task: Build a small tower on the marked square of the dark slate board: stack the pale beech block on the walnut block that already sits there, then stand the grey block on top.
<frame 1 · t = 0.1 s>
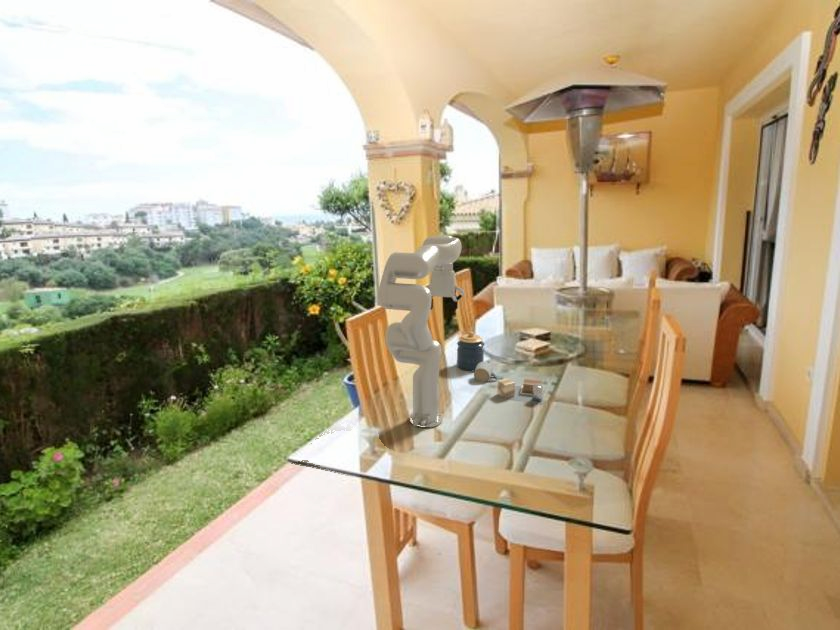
hand: (442, 309, 194), 37 cm above the table, tool pointing down, fingers open, 9 cm apart
walnut block: (531, 390, 205), point 1 cm above the table, touching slate board
grey block: (537, 400, 196), point 1 cm above the table, touching slate board
ceramic mug: (485, 380, 218), on the table
slate board: (521, 394, 203), on the table
beech block: (505, 395, 200), point 1 cm above the table, touching slate board
canister: (470, 367, 235), on the table
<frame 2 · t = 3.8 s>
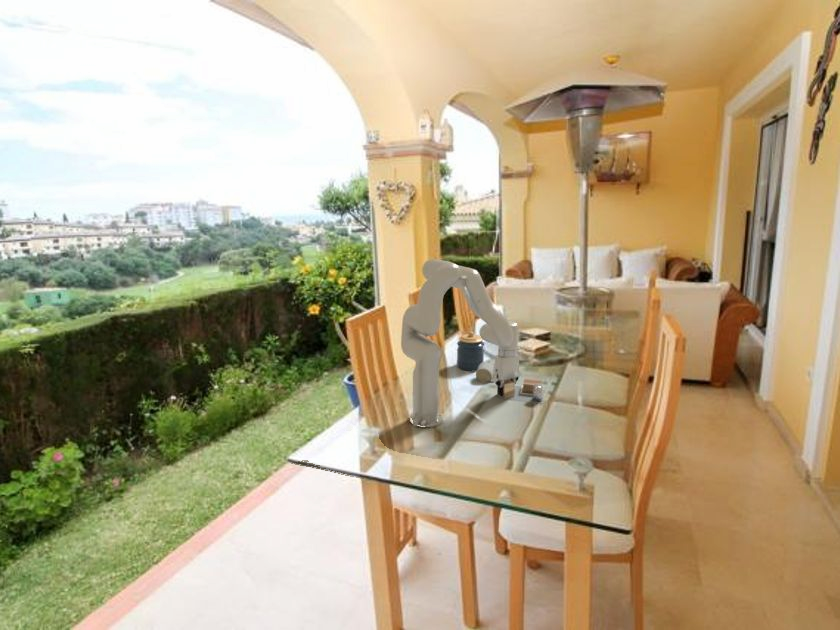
hand: (505, 393, 200), 2 cm above the table, tool pointing down, fingers closed on beech block, 5 cm apart
beech block: (505, 395, 200), point 1 cm above the table, touching gripper, slate board
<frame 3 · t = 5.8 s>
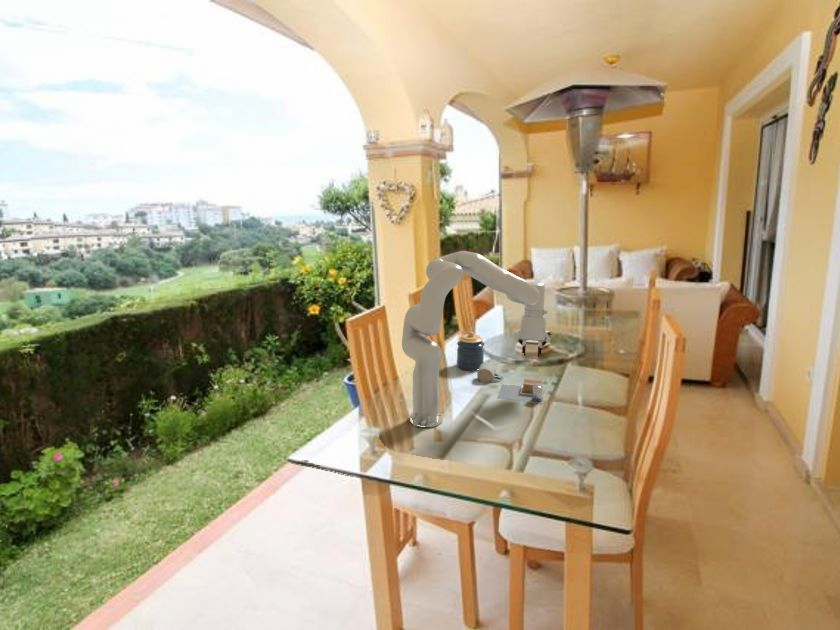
hand: (531, 354, 200), 17 cm above the table, tool pointing down, fingers closed on beech block, 5 cm apart
beech block: (531, 356, 201), point 16 cm above the table, touching gripper
when the fingers open (7 cm above the table, at t = 8.1 s): beech block stays where it is, resting on walnut block.
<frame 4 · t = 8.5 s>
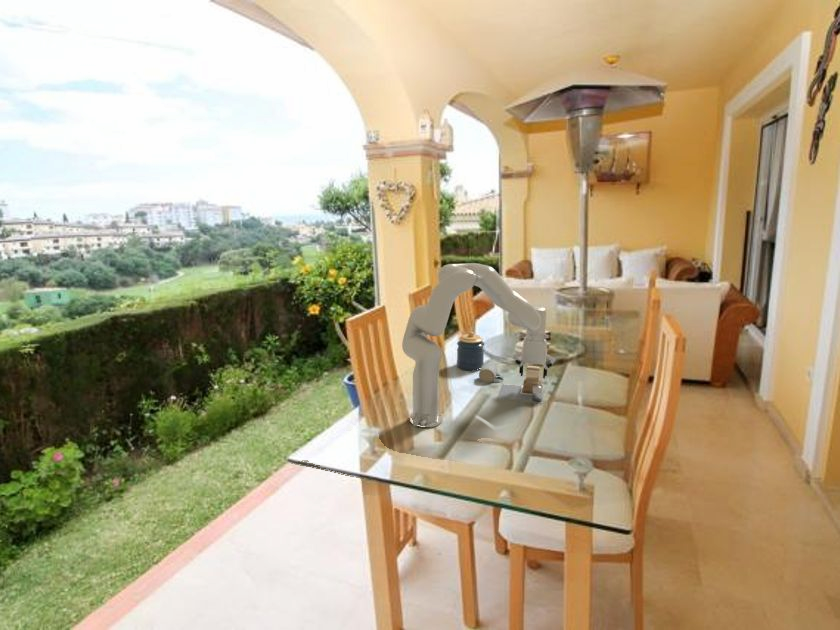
hand: (532, 376, 203), 8 cm above the table, tool pointing down, fingers open, 8 cm apart
walnut block: (532, 390, 205), point 1 cm above the table, touching beech block, slate board
beech block: (532, 381, 204), point 5 cm above the table, touching walnut block
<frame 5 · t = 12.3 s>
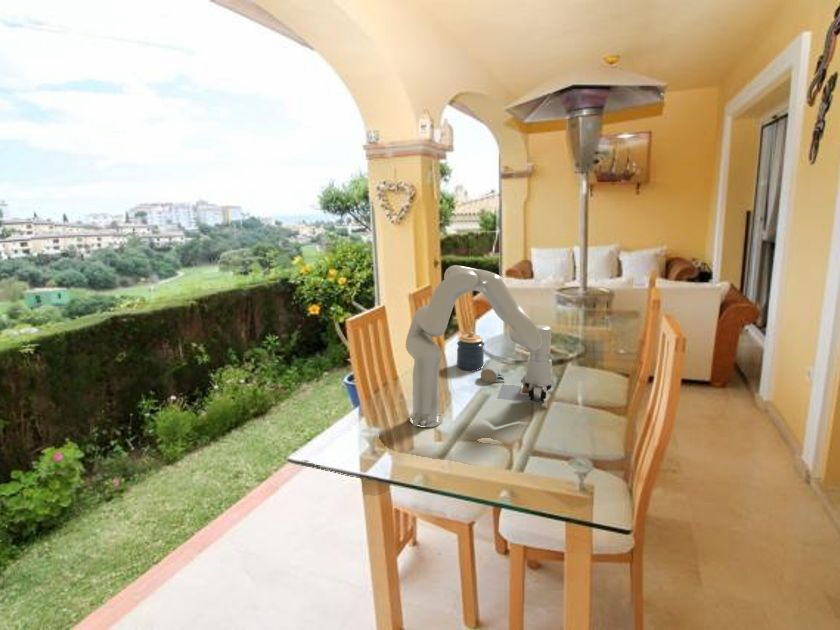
hand: (537, 398, 196), 2 cm above the table, tool pointing down, fingers closed on grey block, 4 cm apart
grey block: (537, 399, 196), point 1 cm above the table, touching gripper, slate board
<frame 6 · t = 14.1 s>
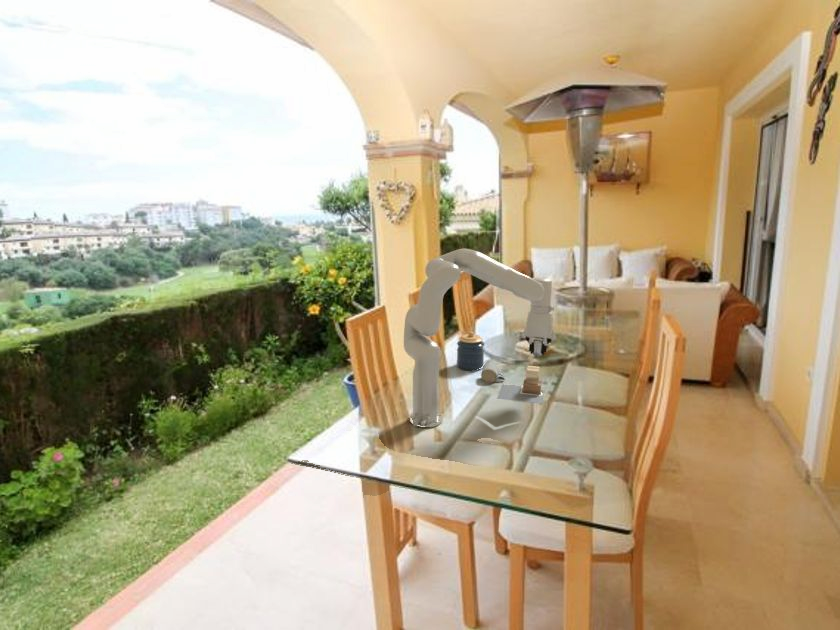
hand: (537, 352, 195), 19 cm above the table, tool pointing down, fingers closed on grey block, 4 cm apart
grey block: (537, 354, 195), point 19 cm above the table, touching gripper
when the fingers open (12 cm above the table, at t = 16.3 s): grey block stays where it is, resting on beech block.
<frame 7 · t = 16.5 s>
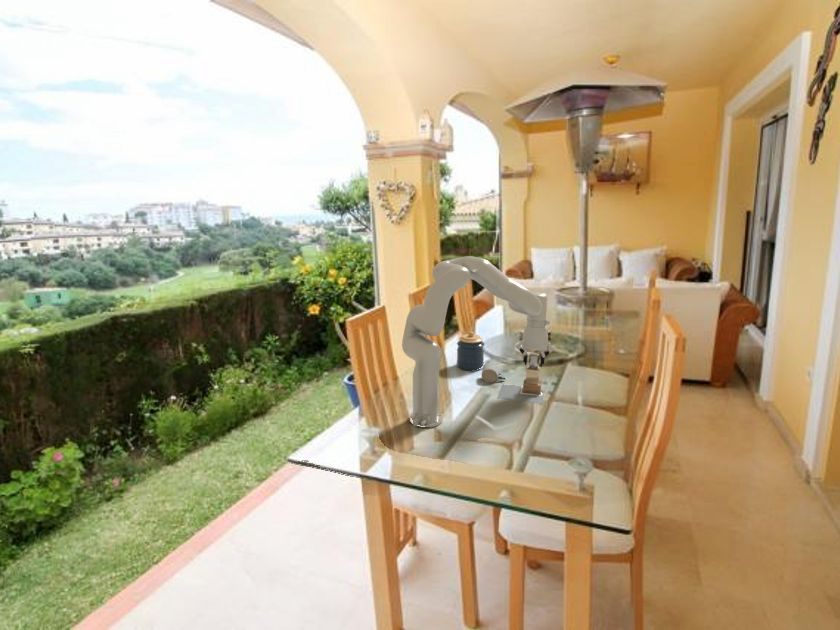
hand: (533, 364, 202), 13 cm above the table, tool pointing down, fingers open, 5 cm apart
grey block: (533, 368, 202), point 11 cm above the table, touching beech block
beech block: (532, 381, 204), point 5 cm above the table, touching grey block, walnut block
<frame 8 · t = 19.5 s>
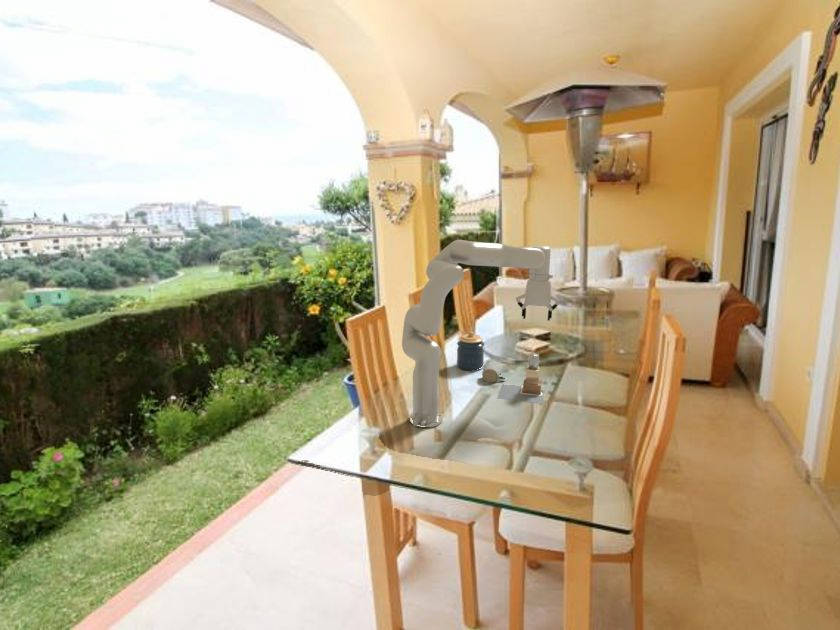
hand: (536, 319, 197), 32 cm above the table, tool pointing down, fingers open, 9 cm apart
at the end: beech block 0.1 cm off-centre on the walnut block, point 4.0 cm above the walnut block's base; grey block 0.0 cm off-centre on the beech block, point 6.0 cm above the beech block's base; grey block tilted 0° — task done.
